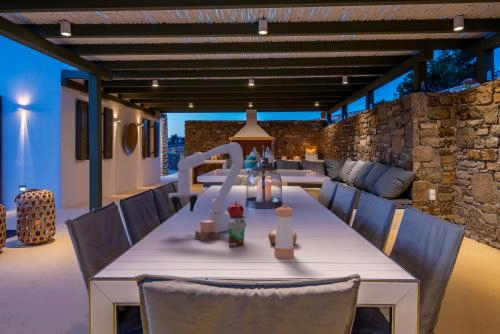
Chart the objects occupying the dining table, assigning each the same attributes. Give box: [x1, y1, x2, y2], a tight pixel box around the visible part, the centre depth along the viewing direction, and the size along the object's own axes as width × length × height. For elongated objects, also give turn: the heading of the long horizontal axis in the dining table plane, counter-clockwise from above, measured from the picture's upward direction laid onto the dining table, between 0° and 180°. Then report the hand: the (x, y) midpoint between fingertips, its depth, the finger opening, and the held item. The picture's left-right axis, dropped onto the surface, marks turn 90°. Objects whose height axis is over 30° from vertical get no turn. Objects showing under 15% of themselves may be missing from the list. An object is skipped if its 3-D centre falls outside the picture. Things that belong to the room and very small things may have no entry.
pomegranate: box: [226, 200, 245, 218], centre depth 228 cm, size 10×10×9 cm
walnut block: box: [194, 229, 220, 242], centre depth 172 cm, size 8×8×4 cm
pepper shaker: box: [273, 204, 295, 260], centre depth 144 cm, size 7×7×19 cm
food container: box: [228, 217, 247, 248], centre depth 161 cm, size 12×6×10 cm, turn 168°
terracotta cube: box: [200, 219, 215, 233], centre depth 172 cm, size 4×4×4 cm
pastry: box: [268, 229, 298, 247], centre depth 163 cm, size 12×12×9 cm
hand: (184, 211), depth 186 cm, fingers open, 7 cm apart
